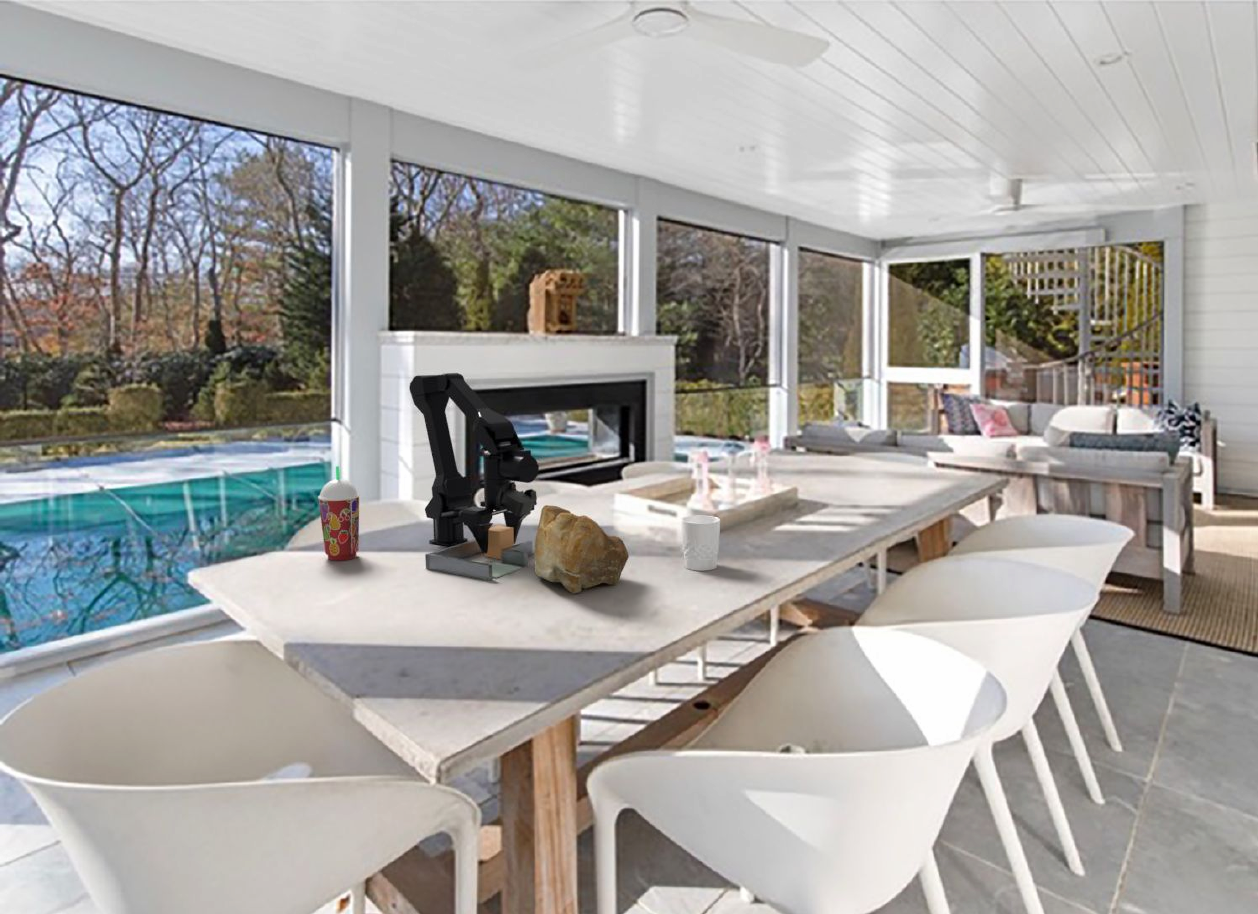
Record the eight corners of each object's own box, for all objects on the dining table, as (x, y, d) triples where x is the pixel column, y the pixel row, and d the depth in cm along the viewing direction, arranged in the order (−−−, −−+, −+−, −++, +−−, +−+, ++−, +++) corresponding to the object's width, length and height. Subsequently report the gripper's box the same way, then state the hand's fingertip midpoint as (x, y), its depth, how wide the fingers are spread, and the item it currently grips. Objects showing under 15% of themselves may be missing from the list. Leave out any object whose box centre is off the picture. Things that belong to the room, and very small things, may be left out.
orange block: (484, 556, 173) (483, 529, 172) (498, 551, 177) (497, 525, 176) (500, 559, 171) (499, 531, 170) (514, 554, 174) (513, 527, 174)
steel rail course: (425, 568, 163) (425, 554, 163) (490, 547, 180) (490, 534, 180) (489, 580, 154) (488, 565, 154) (550, 557, 171) (550, 544, 171)
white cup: (723, 563, 166) (723, 516, 165) (714, 573, 159) (715, 524, 158) (687, 560, 169) (687, 514, 168) (676, 570, 162) (677, 522, 160)
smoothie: (370, 555, 174) (366, 465, 171) (342, 564, 166) (337, 470, 164) (342, 551, 177) (337, 462, 175) (313, 560, 170) (307, 468, 167)
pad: (465, 572, 160) (465, 571, 160) (491, 563, 167) (491, 561, 167) (495, 578, 156) (495, 576, 156) (521, 568, 163) (521, 567, 163)
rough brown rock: (645, 600, 145) (650, 519, 144) (557, 602, 139) (562, 518, 138) (604, 571, 167) (609, 500, 166) (527, 572, 161) (531, 499, 160)
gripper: (497, 487, 159) (499, 563, 161) (553, 474, 175) (554, 543, 177) (456, 483, 165) (458, 556, 167) (513, 471, 181) (515, 538, 183)
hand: (499, 548), depth 174 cm, fingers open, 9 cm apart
